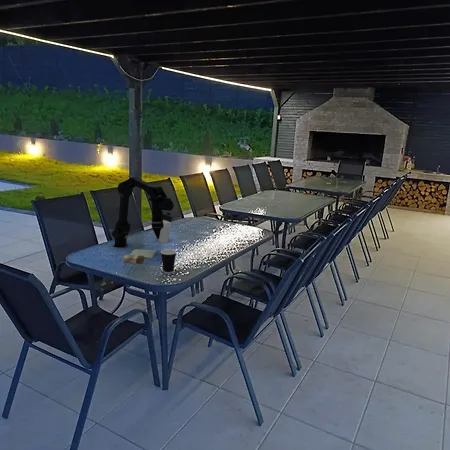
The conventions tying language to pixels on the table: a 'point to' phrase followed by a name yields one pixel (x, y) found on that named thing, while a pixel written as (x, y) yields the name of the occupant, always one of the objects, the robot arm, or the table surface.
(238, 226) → the table surface
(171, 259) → the dixie cup
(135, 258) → the two-tone brown block
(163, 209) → the robot arm
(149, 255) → the mat
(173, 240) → the table surface
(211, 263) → the table surface
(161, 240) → the foam cup
